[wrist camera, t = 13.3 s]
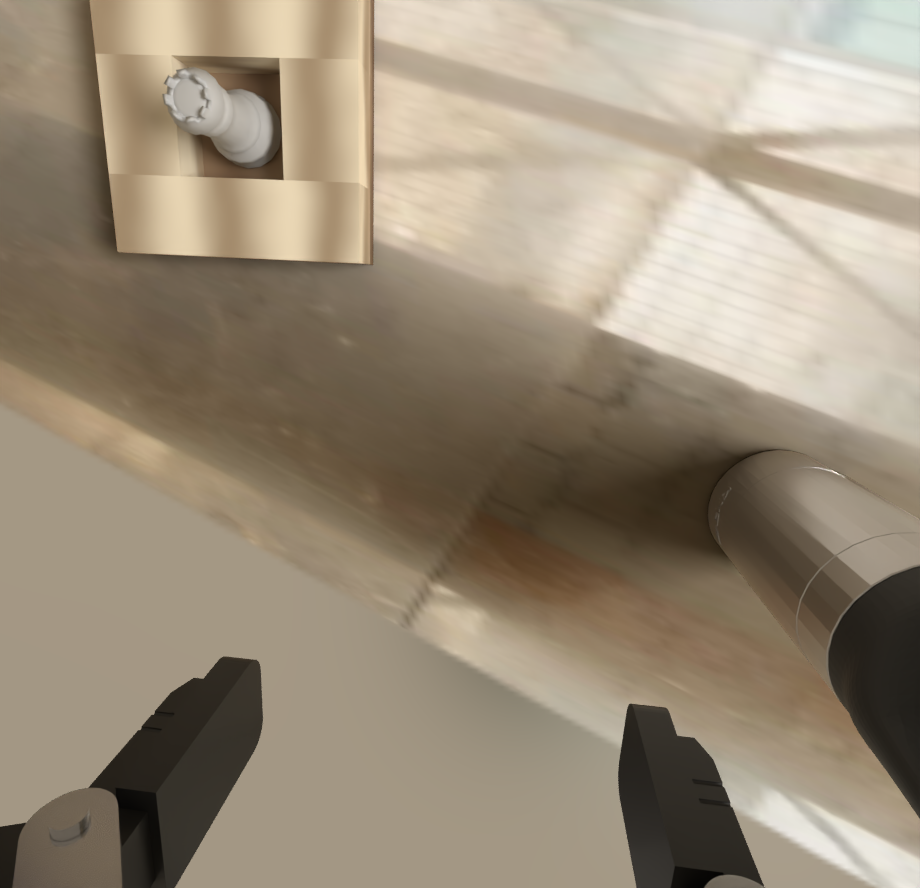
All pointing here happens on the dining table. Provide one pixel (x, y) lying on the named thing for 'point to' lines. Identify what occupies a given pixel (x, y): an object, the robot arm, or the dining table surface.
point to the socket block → (195, 156)
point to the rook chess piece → (224, 116)
